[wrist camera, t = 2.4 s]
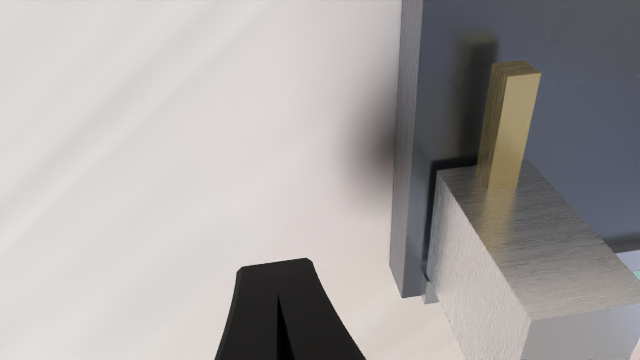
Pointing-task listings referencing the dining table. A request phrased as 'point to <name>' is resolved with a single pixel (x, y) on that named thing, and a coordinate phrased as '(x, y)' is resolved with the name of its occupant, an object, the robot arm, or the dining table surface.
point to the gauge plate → (547, 118)
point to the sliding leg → (524, 250)
